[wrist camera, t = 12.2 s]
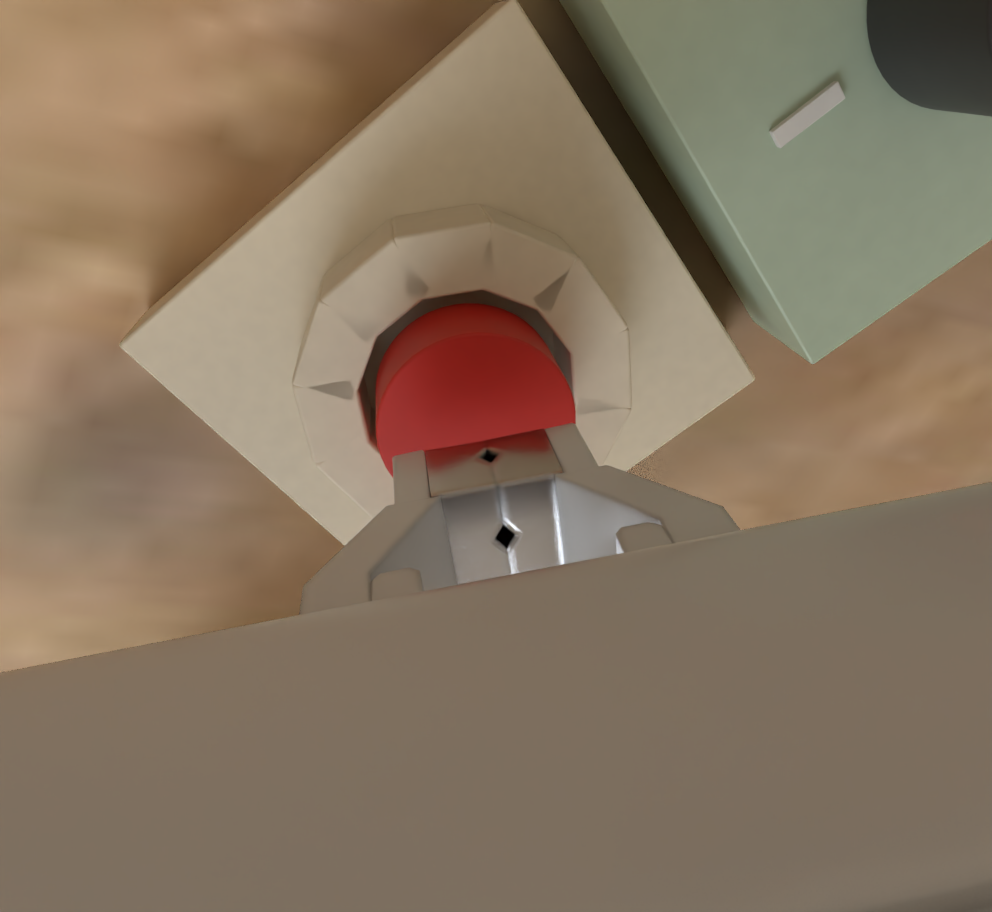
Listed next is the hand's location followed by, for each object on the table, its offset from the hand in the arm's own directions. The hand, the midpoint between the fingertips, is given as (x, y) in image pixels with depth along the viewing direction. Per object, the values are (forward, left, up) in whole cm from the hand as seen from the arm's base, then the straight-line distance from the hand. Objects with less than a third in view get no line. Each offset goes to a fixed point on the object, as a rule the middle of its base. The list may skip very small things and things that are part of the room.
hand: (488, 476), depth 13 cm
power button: (0, 0, -3) cm, 3 cm away
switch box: (0, 0, -7) cm, 7 cm away
